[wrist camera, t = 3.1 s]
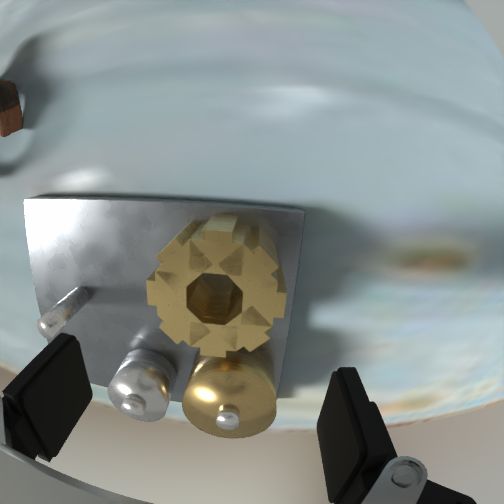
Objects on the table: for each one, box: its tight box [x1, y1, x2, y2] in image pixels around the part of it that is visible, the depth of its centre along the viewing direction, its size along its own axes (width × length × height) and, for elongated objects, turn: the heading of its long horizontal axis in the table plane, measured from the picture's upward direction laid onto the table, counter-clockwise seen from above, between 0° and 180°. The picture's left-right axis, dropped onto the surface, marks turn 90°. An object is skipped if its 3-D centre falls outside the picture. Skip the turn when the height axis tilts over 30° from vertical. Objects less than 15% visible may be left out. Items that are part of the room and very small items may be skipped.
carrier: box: [24, 196, 305, 438], centre depth 18 cm, size 20×16×6 cm
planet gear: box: [146, 214, 287, 358], centre depth 17 cm, size 7×7×4 cm
